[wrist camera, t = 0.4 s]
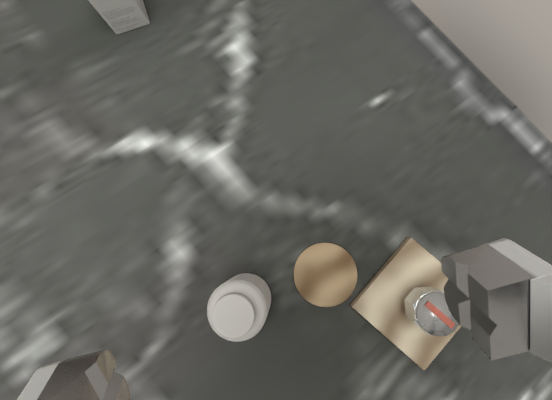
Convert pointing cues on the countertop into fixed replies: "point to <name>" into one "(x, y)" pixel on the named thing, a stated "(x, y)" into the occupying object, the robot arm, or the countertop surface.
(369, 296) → the post stand
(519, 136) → the countertop surface
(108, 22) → the skincare box
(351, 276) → the coaster
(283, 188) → the countertop surface
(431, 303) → the cap
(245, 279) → the pill bottle
